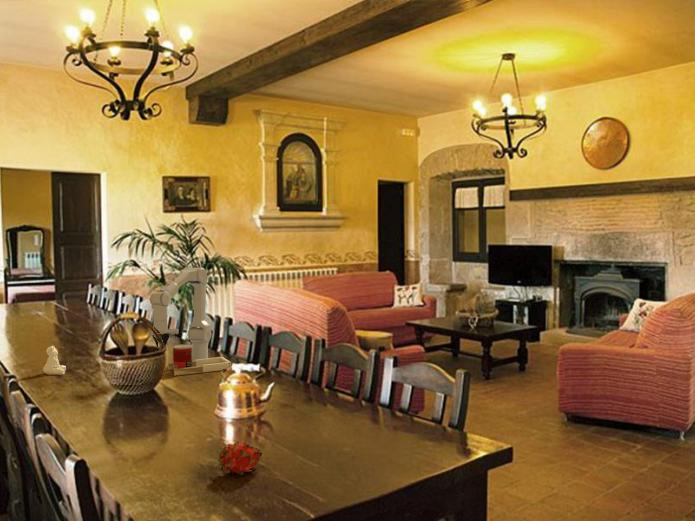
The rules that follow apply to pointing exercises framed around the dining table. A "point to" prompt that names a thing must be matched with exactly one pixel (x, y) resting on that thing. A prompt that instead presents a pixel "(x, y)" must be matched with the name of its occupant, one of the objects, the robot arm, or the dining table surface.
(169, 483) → the dining table surface
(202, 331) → the robot arm
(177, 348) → the canned food
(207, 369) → the open frame
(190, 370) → the rail channel
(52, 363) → the white creature statuette
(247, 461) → the dragon fruit
